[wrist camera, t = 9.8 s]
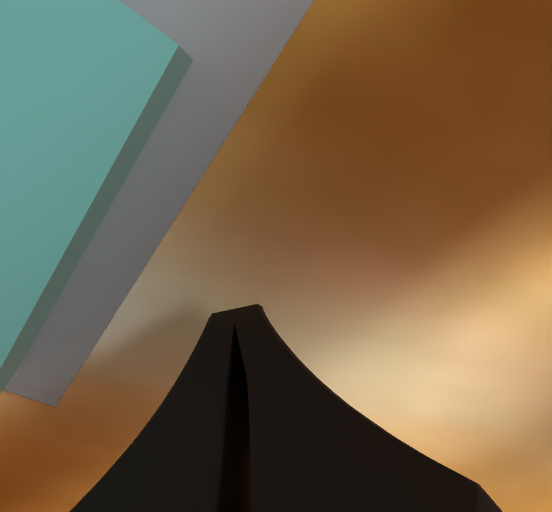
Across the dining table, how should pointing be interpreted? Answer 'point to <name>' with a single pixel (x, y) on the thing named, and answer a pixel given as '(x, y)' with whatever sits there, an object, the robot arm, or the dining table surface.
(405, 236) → the dining table surface
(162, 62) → the housing
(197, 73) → the base plate
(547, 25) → the dining table surface
